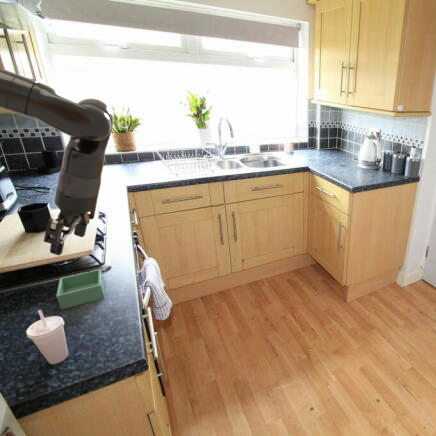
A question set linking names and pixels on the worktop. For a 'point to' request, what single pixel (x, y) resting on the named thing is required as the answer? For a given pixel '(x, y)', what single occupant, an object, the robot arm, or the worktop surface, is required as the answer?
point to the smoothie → (49, 338)
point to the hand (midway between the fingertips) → (67, 244)
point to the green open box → (80, 288)
